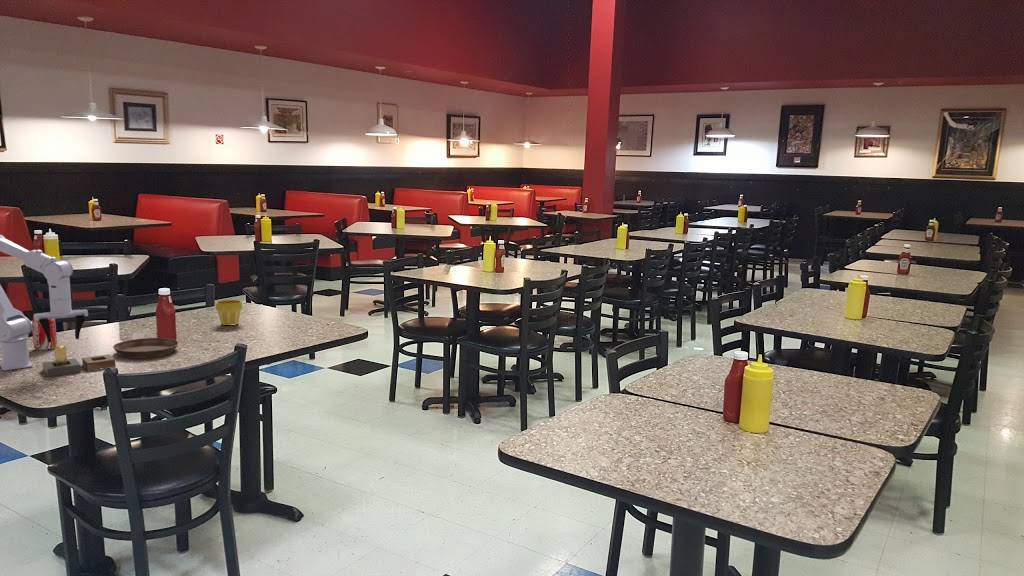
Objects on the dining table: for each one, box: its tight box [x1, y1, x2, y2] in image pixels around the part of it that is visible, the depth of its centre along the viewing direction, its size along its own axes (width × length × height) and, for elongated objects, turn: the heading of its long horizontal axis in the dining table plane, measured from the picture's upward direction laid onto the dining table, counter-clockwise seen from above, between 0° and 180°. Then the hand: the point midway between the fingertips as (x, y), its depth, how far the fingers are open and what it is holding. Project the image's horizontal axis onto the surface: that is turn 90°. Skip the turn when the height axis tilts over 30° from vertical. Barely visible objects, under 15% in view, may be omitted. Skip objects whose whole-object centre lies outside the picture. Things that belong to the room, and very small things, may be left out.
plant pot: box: [214, 299, 243, 325], centre depth 301 cm, size 10×10×10 cm
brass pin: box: [54, 345, 68, 366], centre depth 230 cm, size 3×3×8 cm
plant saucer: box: [112, 337, 179, 359], centre depth 256 cm, size 21×21×3 cm
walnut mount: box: [81, 353, 117, 371], centre depth 237 cm, size 8×8×2 cm
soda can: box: [31, 315, 58, 351], centre depth 255 cm, size 7×7×12 cm
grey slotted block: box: [42, 357, 82, 378], centre depth 230 cm, size 9×9×2 cm
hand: (63, 340), depth 232 cm, fingers open, 7 cm apart
